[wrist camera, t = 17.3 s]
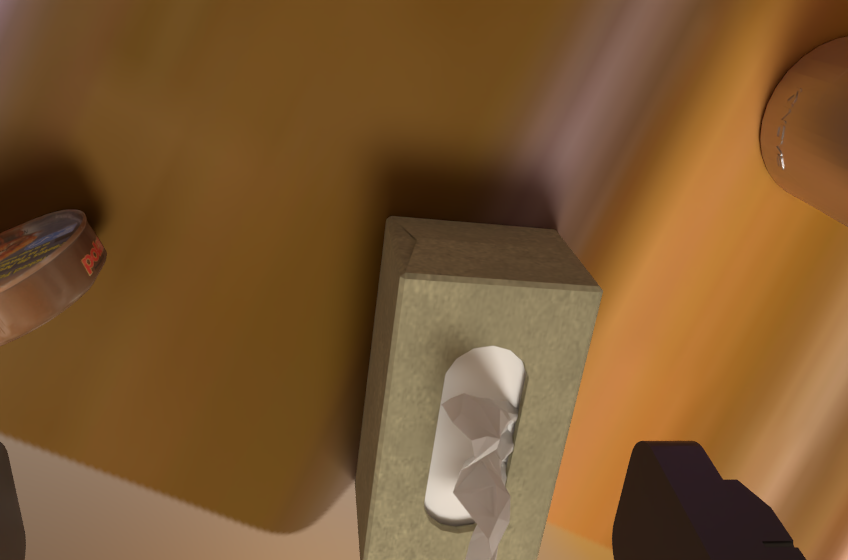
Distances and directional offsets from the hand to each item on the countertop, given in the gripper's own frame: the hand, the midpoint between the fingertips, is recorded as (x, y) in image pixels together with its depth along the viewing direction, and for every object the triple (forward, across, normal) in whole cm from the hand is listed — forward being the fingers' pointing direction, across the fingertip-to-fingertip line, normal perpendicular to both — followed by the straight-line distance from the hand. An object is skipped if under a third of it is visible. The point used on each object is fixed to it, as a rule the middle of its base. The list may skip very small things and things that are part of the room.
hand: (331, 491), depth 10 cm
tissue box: (+31, -7, +19) cm, 37 cm away
